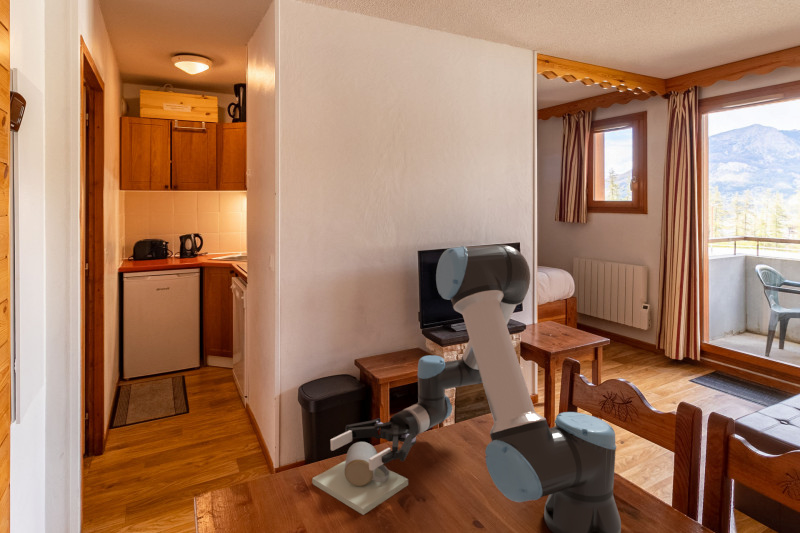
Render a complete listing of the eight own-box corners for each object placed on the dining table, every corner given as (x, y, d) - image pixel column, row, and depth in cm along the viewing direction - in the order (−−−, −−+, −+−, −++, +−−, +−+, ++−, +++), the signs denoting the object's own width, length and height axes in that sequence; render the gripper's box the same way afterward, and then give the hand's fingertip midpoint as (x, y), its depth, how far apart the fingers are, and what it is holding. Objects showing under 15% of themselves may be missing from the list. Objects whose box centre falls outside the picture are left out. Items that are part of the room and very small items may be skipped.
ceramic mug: (343, 488, 113) (343, 458, 112) (347, 469, 121) (347, 440, 120) (388, 489, 113) (388, 458, 112) (389, 469, 121) (389, 440, 120)
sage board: (408, 485, 117) (408, 479, 116) (363, 515, 106) (362, 508, 105) (357, 459, 129) (357, 454, 128) (312, 483, 118) (312, 478, 117)
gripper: (446, 452, 122) (388, 489, 106) (376, 422, 138) (317, 451, 123) (446, 423, 121) (387, 457, 105) (375, 398, 137) (316, 423, 122)
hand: (349, 454), depth 114 cm, fingers open, 13 cm apart
